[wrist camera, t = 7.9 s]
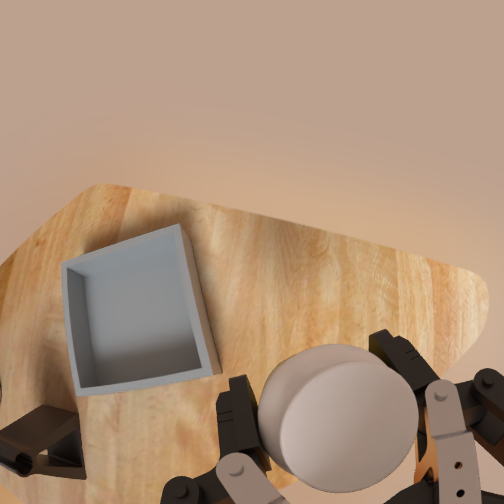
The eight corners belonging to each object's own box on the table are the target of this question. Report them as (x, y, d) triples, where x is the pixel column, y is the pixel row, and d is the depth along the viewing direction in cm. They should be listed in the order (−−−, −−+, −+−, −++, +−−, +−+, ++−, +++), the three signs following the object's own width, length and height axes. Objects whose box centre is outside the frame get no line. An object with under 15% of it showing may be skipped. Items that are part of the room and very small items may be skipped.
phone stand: (44, 403, 27) (-26, 404, 16) (79, 413, 27) (7, 421, 15) (51, 466, 24) (-12, 482, 12) (86, 479, 23) (23, 505, 12)
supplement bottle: (362, 424, 15) (447, 472, 6) (272, 448, 15) (272, 533, 5) (343, 340, 17) (417, 311, 7) (253, 363, 17) (229, 364, 7)
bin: (99, 394, 27) (76, 396, 23) (82, 274, 33) (61, 262, 28) (222, 373, 28) (213, 374, 24) (190, 241, 33) (179, 223, 29)
